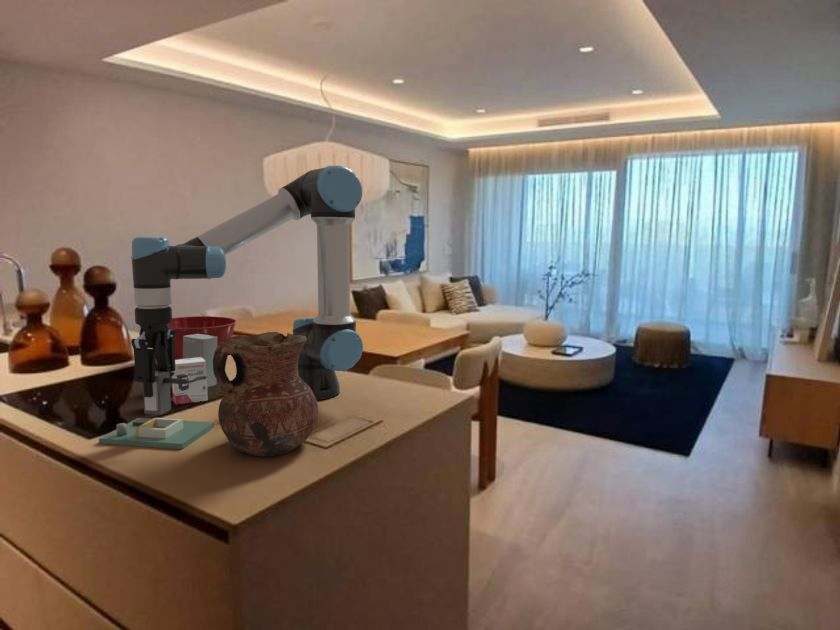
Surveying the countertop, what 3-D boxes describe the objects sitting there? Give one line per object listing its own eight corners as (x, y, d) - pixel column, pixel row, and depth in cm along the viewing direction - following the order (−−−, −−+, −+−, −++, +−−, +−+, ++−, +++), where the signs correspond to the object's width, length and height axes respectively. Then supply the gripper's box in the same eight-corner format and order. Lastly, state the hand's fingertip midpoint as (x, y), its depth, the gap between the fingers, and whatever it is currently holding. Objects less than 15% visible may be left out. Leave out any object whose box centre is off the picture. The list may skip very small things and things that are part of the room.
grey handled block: (193, 410, 127) (192, 373, 126) (184, 416, 123) (182, 377, 122) (152, 408, 128) (150, 370, 127) (142, 413, 124) (140, 375, 123)
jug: (264, 423, 137) (261, 325, 133) (336, 436, 129) (335, 332, 125) (197, 455, 117) (191, 341, 113) (277, 473, 109) (274, 350, 105)
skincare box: (181, 386, 168) (179, 336, 166) (199, 381, 175) (196, 332, 172) (203, 390, 165) (200, 338, 163) (220, 384, 172) (218, 334, 169)
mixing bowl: (219, 351, 219) (217, 313, 217) (250, 364, 199) (249, 322, 196) (143, 361, 200) (140, 319, 198) (169, 376, 180) (167, 330, 177)
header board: (214, 427, 134) (213, 413, 133) (182, 449, 120) (181, 433, 120) (138, 422, 136) (137, 408, 136) (99, 443, 123) (97, 428, 122)
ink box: (175, 405, 150) (173, 363, 149) (172, 400, 154) (170, 360, 153) (208, 400, 155) (206, 360, 153) (204, 396, 159) (202, 356, 157)
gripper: (160, 301, 131) (164, 395, 135) (112, 310, 115) (118, 417, 118) (189, 302, 131) (193, 397, 134) (145, 311, 114) (150, 419, 117)
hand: (158, 406), depth 126 cm, fingers closed on grey handled block, 4 cm apart
